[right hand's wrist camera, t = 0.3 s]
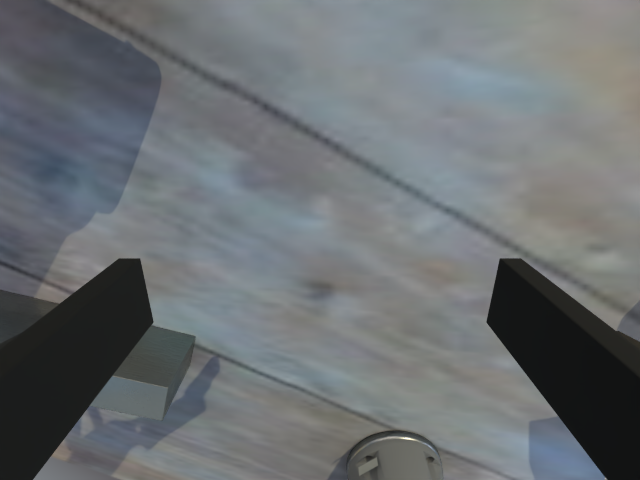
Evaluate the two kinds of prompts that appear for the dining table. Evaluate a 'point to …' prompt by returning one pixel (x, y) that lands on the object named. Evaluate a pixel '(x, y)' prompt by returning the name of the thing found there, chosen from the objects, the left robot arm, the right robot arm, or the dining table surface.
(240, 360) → the dining table surface
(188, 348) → the bar
